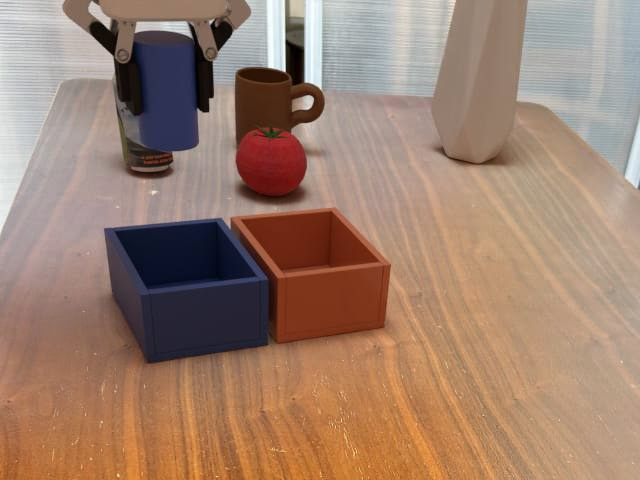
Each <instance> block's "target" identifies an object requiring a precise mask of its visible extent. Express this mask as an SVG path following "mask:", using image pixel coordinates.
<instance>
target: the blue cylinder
mask: <svg viewBox="0 0 640 480" xmlns="http://www.w3.org/2000/svg"><path fill="white" fill-rule="evenodd" d="M132 53H133V60H134V61H135V62H136V63H137V65H138V68H139V79H140V90H141V101H142V112H143V113H142V114H141V115H140V116H138V127H139V137H140V142H141V143H142V144H143V145H144V146H146V147H149V148H151V149H155V150H160V151H170V152H172V153H175V152H184V151H190V150H192V149H194V148H196V147H197V146H198V145H199V143H200V134H199V133H200V132H199V131H200V130H199V113H198V112H199V109H198V108H197V91H196V71H195V52H194V41H193V39H192V38H191V36H189V35H186V34H185V33H181V32H176V31H170V30H160V29H158V30H157V29H155V30H154V29H153V30H152V29H151V30H150V29H149V30H142V31H141V30H140V31H138V32H135V35H134V40H133V46H132Z"/></svg>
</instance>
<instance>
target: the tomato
mask: <svg viewBox="0 0 640 480" xmlns="http://www.w3.org/2000/svg"><path fill="white" fill-rule="evenodd" d="M255 126H256V125H255ZM257 127H258V128H260V129H256V130H253V131H250V132H249V133H247V134H246V135H245V136H244V138H243V139H242V140H241V142H240V144H239V146H237V149H236V152H235V165H236V166H235V167H236V170H237V173H238V176H239V177H240V178H241V180H242V181H243V183H244V184H245V185H246V186H247V187H249V188H250V189H251V190H252V191H254V192H256V193H258V194H260V195H264V196H270V197H278V196H284V195H287V194H289V193H291V192H292V191H294V190H295V189H297V188H298V187H299V186H300V184H302V181H304V178H305V176H306V173H307V169H308V159H307V154H306V151H305V149H304V147H303V145H302V143H301V142H300V140H299V139H298V138H297V136H296V135H294V134H293V133H292V132H291V133H289V132H286V131H284V130H285V129H282V130H281V129H278V128H273V127H272V125H270V126H269V128H261V127H259V126H257Z"/></svg>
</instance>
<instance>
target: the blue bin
mask: <svg viewBox="0 0 640 480" xmlns="http://www.w3.org/2000/svg"><path fill="white" fill-rule="evenodd" d="M103 233H104V242H105V250H106V259H107V266H108V272H109V281H110V290H111V295H112V296H113V299H114V300H115V303H116V304H117V306H118V308H119V310H120V312H121V314H122V317H123V318H124V320H125V322H126V324H127V325H128V328H129V329H130V332H131V334H132V335H133V338H134V339H135V341H136V343H137V345H138V347H139V350H140V351H141V354H142V355H143V357H144V360H145V361H146V363H147V364H151V363H157V362H164V361H169V360H176V359H183V358H190V357H196V356H203V355H210V354H216V353H223V352H229V351H235V350H236V351H237V350H243V349H248V348H255V347H261V346H268V345H269V331H268V278H267V277H266V276H265V274H264V273H263V272H262V270H261V269H260V268H259V266H258V265H257V264H256V262H255V261H254V260H253V258H252V257H251V256H250V255H249V253H248V252H247V251H246V249H245V248H244V247H243V245H242V244H241V243H240V241H239V240H238V239H237V237H236V236H235V235H234V234H233V232H232V231H231V227H230V226H229V225H228V224H227V223H226V222H225V220H224V219H223V217H215V218H203V219H193V220H180V221H169V222H158V223H148V224H146V223H145V224H137V225H136V224H135V225H126V226H125V225H124V226H114V227H103Z"/></svg>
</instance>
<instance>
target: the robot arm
mask: <svg viewBox="0 0 640 480" xmlns="http://www.w3.org/2000/svg"><path fill="white" fill-rule="evenodd" d="M92 2H93V3H94V4H95V5H97V6H99V8H100V10H101V12H102V13H103V15H105V16H106V17H108V18H110V20H109V27H108V26H106V25H105V24H104V23H103V22H102V21H101V20H99V19H98V18H97V17H96V16H95V15H93V14H92V13H91V12H90V11H89V6H90V4H91V3H92ZM61 10H62V11H63V13H64V14H65V16H66V17H67V18H68V19H69V20H71V21H72V22H73V23H75V25H77V26H78V27H79V28H81V29H82V30H83V31H84V32H86V33H87V34H89V35H90V36H91V37H92V38H94V40H96V42H98V43H99V44H100V45H101V46H102V48H104V49H105V50H106V51H107V52H108V53H109V54H110V55H111V56H112V57H113V58H112V59H113V66H114V67H113V68H114V73H115V77H116V86H117V94H118V98H119V100H120V102H125V105H126V107H127V108H128V109H129V111H130V112H131V113H132V115H133V116H140V115H141V114H142V113H143V112H142V101H141V90H140V79H139V68H138V65H137V63H136V62H135V61H134V60H133V53H132V46H133V40H134V35H135V33H136V28H137V23H140V22H141V23H162V22H163V23H165V22H167V23H170V22H171V23H174V22H175V23H179V22H181V23H182V22H186V25H187V28H188V31H189V34H190V37H191V38H192V39H193V41H194V52H195V71H196V91H197V110H198V111H199V112H201V113H202V114H206V113H207V114H208V113H210V110H211V109H210V108H211V107H210V99H214V98H215V97H214V96H215V84H214V83H215V82H214V81H215V80H214V61H216V59H218V57H219V52H220V51H221V50H222V48H223V47H224V46H225V44H226V43H227V42H228V41H229V40H230V39H231V37H232V35H233V33H234V32H235V31H236V30H238V29H239V28H240V27H241V26H242V25H243V24H244V23H245V22H246V21H248V19H249V18H250V17H251V16H252V8H251V7H250V6H249V4H248V2H247V1H246V0H63V3H62V6H61ZM210 21H212V22H211V23H210Z"/></svg>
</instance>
